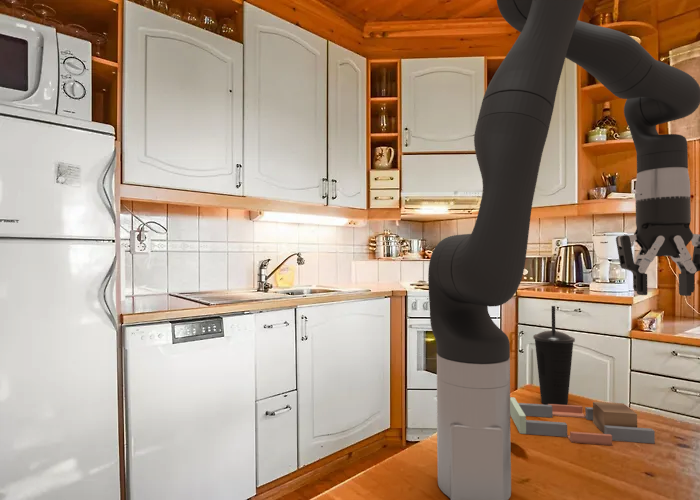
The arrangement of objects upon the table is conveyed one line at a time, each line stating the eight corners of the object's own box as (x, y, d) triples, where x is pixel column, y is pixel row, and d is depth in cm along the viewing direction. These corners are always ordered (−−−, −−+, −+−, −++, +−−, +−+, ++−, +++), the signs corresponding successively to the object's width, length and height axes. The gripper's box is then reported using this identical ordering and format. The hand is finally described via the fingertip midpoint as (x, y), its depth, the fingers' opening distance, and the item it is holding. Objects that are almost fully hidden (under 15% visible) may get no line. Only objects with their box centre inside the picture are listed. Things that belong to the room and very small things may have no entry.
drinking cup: (575, 413, 78) (574, 309, 79) (531, 406, 82) (530, 306, 83) (576, 401, 85) (574, 305, 85) (536, 395, 89) (535, 303, 89)
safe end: (526, 433, 70) (525, 416, 70) (519, 433, 70) (519, 415, 70) (514, 413, 79) (514, 397, 79) (509, 412, 79) (509, 397, 79)
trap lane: (661, 449, 64) (661, 436, 64) (528, 439, 68) (528, 426, 68) (621, 416, 77) (621, 405, 77) (512, 409, 81) (512, 399, 81)
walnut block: (637, 438, 68) (637, 413, 68) (604, 435, 69) (604, 411, 69) (623, 425, 73) (623, 403, 73) (593, 423, 74) (592, 401, 74)
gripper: (626, 195, 68) (627, 296, 68) (725, 193, 65) (727, 298, 65) (606, 201, 75) (608, 292, 75) (695, 199, 73) (697, 293, 72)
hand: (663, 294), depth 70 cm, fingers open, 6 cm apart
